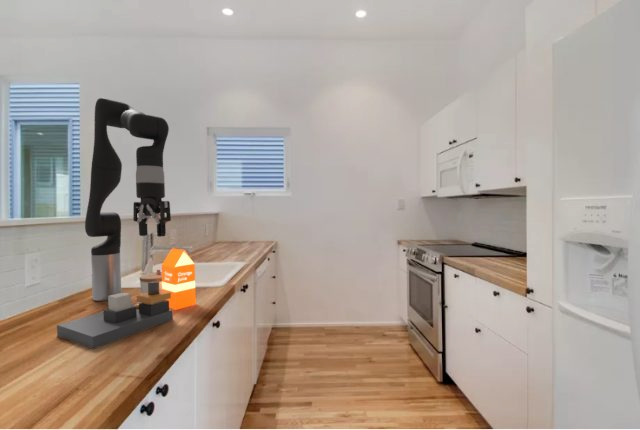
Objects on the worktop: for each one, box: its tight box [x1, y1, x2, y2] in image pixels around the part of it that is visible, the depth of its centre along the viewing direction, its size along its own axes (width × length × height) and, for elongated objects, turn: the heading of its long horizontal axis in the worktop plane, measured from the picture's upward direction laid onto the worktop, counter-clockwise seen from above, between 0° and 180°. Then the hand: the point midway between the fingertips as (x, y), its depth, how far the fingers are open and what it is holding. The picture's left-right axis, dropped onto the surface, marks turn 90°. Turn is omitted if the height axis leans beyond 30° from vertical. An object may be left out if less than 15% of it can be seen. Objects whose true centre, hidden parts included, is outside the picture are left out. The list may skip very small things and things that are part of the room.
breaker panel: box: [56, 300, 173, 350], centre depth 90 cm, size 18×22×6 cm
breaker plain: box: [107, 292, 132, 312], centre depth 89 cm, size 4×4×4 cm
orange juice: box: [161, 247, 197, 311], centre depth 110 cm, size 8×9×20 cm
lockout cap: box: [135, 281, 171, 304], centre depth 94 cm, size 7×7×5 cm
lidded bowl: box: [139, 269, 162, 294], centre depth 119 cm, size 13×13×11 cm
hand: (152, 236), depth 94 cm, fingers open, 8 cm apart
